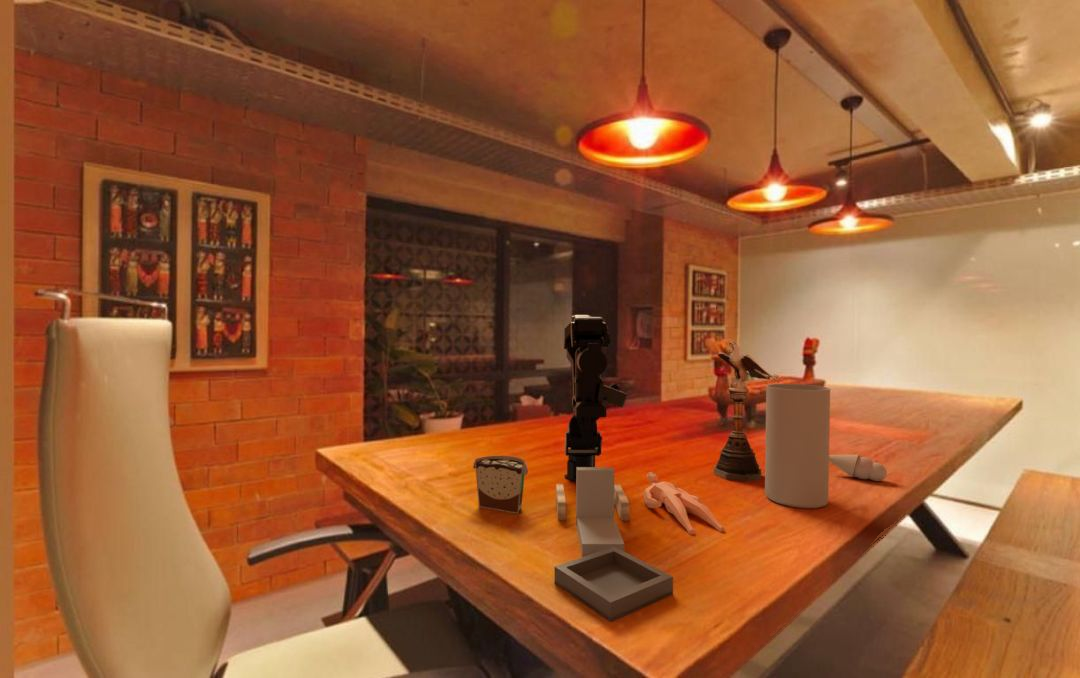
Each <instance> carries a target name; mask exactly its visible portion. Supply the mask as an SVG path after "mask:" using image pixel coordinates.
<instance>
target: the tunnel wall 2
mask: <svg viewBox="0 0 1080 678" xmlns="http://www.w3.org/2000/svg"><path fill="white" fill-rule="evenodd" d="M614 507H615V509H616V511H617V513H618V516H619V518H620V520H621V521H622V522H623V521H625V522H626V521H628V522H629V521H630V501H629V500H628V497H627V496H626V493H625V491H624V489H623V488H622V486H621V484H620V483H614Z"/></svg>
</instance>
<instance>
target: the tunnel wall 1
mask: <svg viewBox="0 0 1080 678" xmlns="http://www.w3.org/2000/svg"><path fill="white" fill-rule="evenodd" d="M555 505H556V514H557V521H566V520H567V519H566V516H567V515H566V514H567V512H566V511H567V510H566V507H567V506H566V505H567V503H566V496H565V489H564V484H563V483H556V484H555Z"/></svg>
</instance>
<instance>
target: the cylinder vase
mask: <svg viewBox="0 0 1080 678" xmlns="http://www.w3.org/2000/svg"><path fill="white" fill-rule="evenodd" d="M765 388H766V389H765V391H766V393H765V397H766V398H765V400H766V401H765V455H764V457H765V458H764V459H765V463H764V465H765V467H764V469H765V470H764V472H765V473H764V478H765V479H764V493H765V495H766V497H767V498H768V499H769V500H771V501H772V502H775V503H776V504H780V505H783V506H786V507H791V508H797V509H798V508H799V509H819V508H822V507H825V506H826V505H827V504H828V503H829V484H830V481H829V480H830V478H829V477H830V476H829V475H830V462H829V455H830V428H831V427H830V423H831V422H830V420H831V418H830V417H831V416H830V415H831V413H830V412H831V388H830V387H828V386H822V385H812V384H796V383H795V384H794V383H771V384H766V386H765Z"/></svg>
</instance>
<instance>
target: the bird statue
mask: <svg viewBox="0 0 1080 678" xmlns="http://www.w3.org/2000/svg"><path fill="white" fill-rule="evenodd" d="M728 346H730V347H729V348H728V351H726V353H724V352H719V353H718V354H717V357H719V358H720V359H722V361H724V362H725V363H726V364H728V366H730V367H731V368H732V369H733V370H734V376H735V378H734V379H733V380H732V381H730V387H728V388H727V391H728V392H729V394H728V398H729V399H730V400H733V402H732V403H733V415H732V416H731V418H732V419H733V430H731V432H730V433H729V434H728V438H727V440H726V442H725V445H724V446H723V447H722V449H721V451H720V452H719V454H720V455H719V458H718V461H717V463H716V464H715V465H714V466H713V475H715V476H717V477H720V478H722V479H725V480H728V481H736V482H742V483H743V482H744V483H745V482H746V483H747V482H754V481H761V478H762V469H761V468H760V465H759V464H758V461H757V458H756V452H754V449H752V447H751V444H750V443H749V440H748V435H747V434H746V433H745V432H744V431H743V428H744V427H743V421H744V418H745V416H744V410H743V409H744V405H743V403H744V401H746V400H748V393H749V391H750V390H749V388H747V384H746V378H747V375H749V377H750V378H751V379H752V378H755V379H759V380H761V379H762V380H770V379H771V378H772V379H773V380H774V381H775V382H777V384H780V381H779V380H778V377H779V375H778V374H775V373H769V372H768V371H767V370H765V369H764V368H763V367H762V366H761V364H759V363H758V362H757V361H756V360H755V359H754V358H753V357H751V356H750V355H749V354H742V356H741V355H740V347H739V345H738V344H737V343H736V342H734V341H729V342H728ZM731 348H732V351H731Z"/></svg>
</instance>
